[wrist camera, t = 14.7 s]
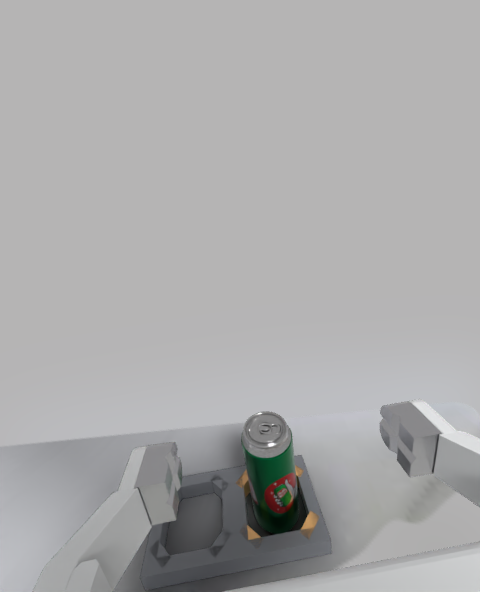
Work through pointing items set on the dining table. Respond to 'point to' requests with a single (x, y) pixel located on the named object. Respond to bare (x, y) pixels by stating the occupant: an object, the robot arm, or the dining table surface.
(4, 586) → the dining table surface
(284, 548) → the socket board
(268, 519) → the soda can
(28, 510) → the dining table surface
